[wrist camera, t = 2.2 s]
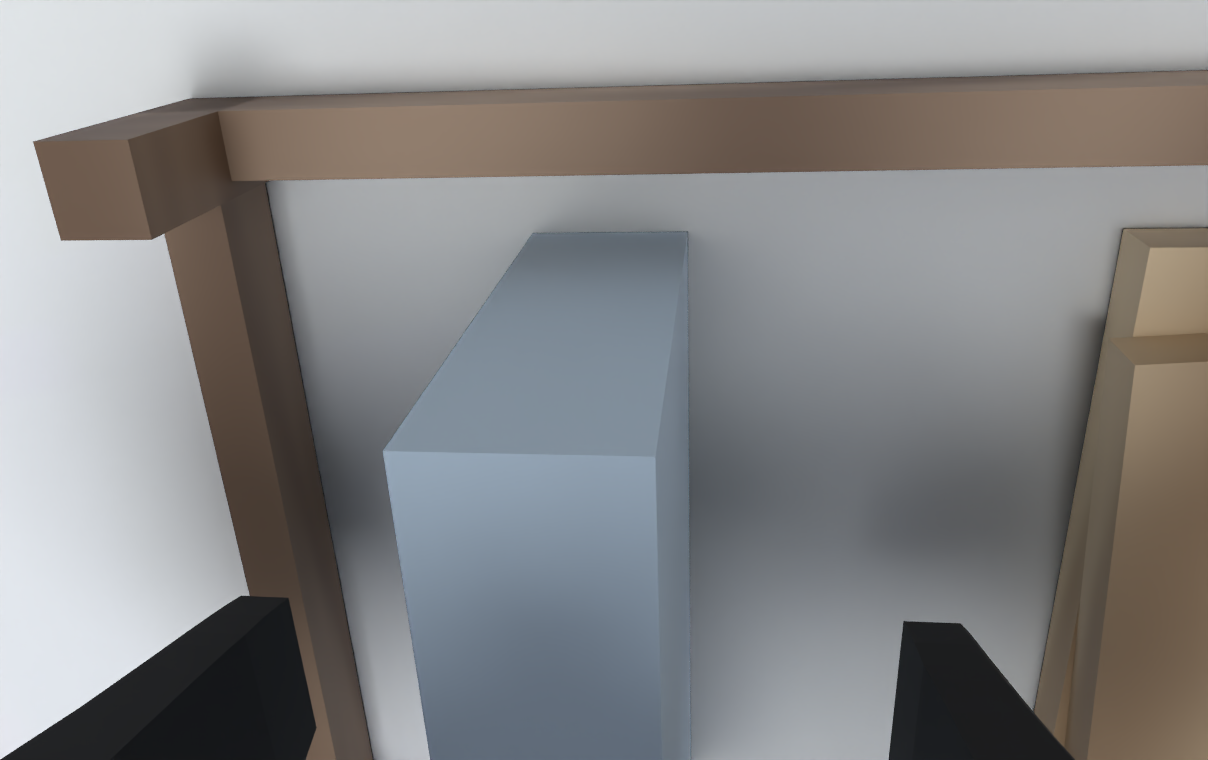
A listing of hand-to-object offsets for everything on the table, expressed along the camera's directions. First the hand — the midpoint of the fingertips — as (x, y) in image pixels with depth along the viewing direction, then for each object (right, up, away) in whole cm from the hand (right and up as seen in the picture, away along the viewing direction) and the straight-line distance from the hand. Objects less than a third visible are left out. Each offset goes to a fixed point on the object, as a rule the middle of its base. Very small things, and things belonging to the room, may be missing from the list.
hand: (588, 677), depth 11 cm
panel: (0, +1, +3) cm, 3 cm away
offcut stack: (+8, +1, +2) cm, 8 cm away
